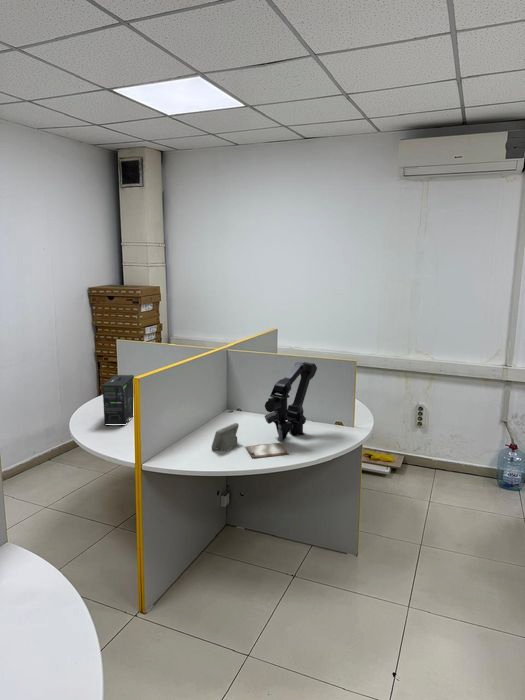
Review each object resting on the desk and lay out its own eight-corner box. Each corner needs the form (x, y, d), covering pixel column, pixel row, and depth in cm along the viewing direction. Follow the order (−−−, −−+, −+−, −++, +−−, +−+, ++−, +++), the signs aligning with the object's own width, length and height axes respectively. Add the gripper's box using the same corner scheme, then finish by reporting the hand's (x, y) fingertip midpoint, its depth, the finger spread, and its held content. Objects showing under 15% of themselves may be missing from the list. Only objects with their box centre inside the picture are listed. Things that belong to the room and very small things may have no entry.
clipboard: (279, 443, 242) (279, 440, 241) (289, 454, 228) (289, 451, 228) (245, 447, 237) (245, 444, 236) (252, 458, 223) (252, 455, 223)
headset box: (125, 426, 267) (123, 381, 262) (104, 426, 267) (101, 380, 262) (136, 413, 289) (134, 371, 284) (116, 413, 289) (114, 371, 284)
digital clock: (232, 440, 247) (232, 420, 245) (244, 445, 240) (244, 424, 238) (207, 448, 236) (206, 427, 234) (218, 453, 229) (217, 432, 227)
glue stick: (283, 439, 248) (283, 422, 246) (285, 441, 245) (285, 424, 243) (277, 439, 247) (277, 423, 245) (279, 442, 244) (279, 425, 242)
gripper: (261, 403, 249) (261, 432, 252) (271, 414, 232) (271, 445, 235) (281, 401, 252) (281, 430, 255) (293, 412, 235) (293, 442, 238)
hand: (281, 436), depth 246 cm, fingers open, 7 cm apart
